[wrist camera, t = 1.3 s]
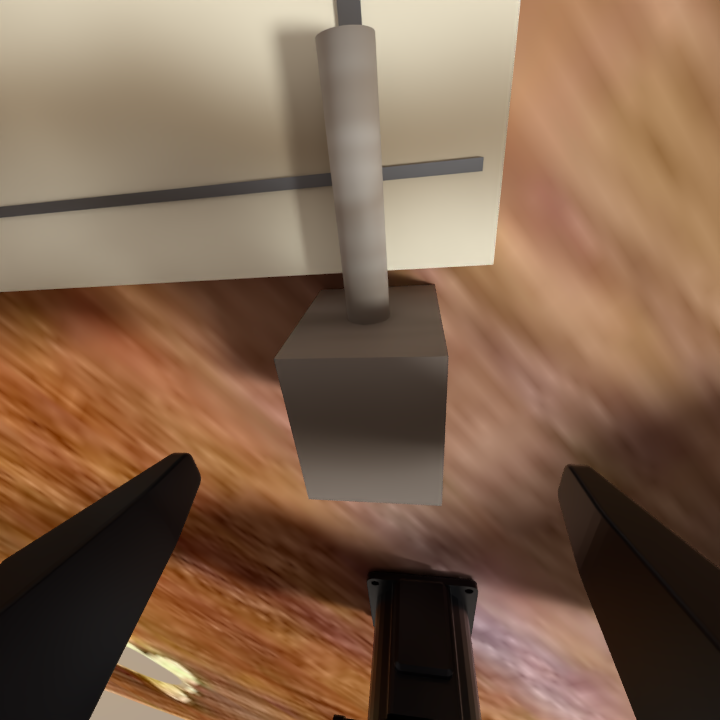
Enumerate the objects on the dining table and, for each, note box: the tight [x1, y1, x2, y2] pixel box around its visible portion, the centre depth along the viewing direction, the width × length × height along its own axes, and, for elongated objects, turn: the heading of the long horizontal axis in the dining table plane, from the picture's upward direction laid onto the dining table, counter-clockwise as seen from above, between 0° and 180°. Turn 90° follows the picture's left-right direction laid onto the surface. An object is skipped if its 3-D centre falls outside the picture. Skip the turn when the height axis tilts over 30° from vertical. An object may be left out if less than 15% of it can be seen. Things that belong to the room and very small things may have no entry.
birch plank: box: [0, 0, 521, 292], centre depth 10 cm, size 8×22×2 cm, turn 95°
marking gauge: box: [274, 25, 448, 506], centre depth 10 cm, size 11×4×5 cm, turn 5°
